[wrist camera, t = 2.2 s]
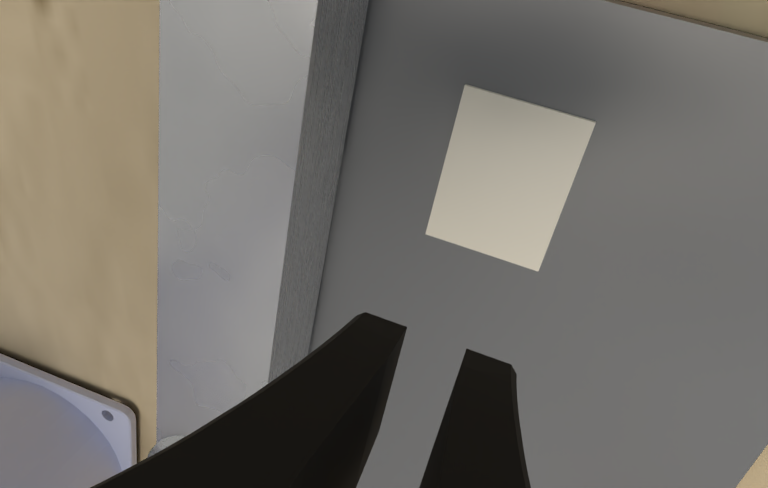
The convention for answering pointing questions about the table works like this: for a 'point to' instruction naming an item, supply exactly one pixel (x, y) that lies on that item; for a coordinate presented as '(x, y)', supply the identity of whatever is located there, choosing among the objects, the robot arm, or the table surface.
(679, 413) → the label plate
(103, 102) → the table surface
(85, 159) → the table surface
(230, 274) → the swing arm
